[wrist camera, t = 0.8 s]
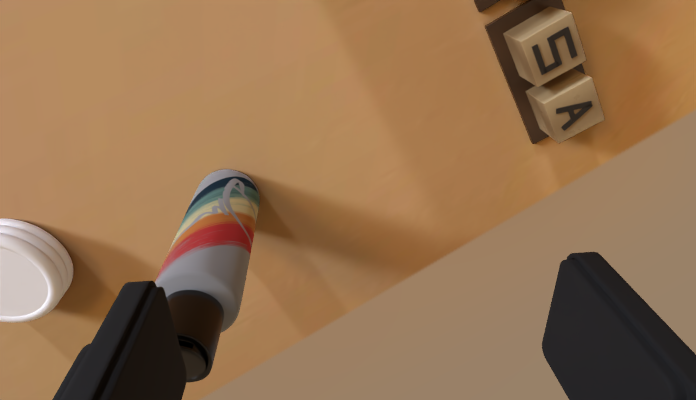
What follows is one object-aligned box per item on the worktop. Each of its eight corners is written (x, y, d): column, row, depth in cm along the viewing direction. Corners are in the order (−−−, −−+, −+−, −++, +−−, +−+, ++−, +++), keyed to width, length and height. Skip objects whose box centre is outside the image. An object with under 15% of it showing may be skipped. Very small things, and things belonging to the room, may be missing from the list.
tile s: (502, 33, 37) (521, 41, 34) (549, 5, 37) (572, 12, 33) (519, 76, 39) (538, 88, 36) (564, 50, 38) (587, 60, 35)
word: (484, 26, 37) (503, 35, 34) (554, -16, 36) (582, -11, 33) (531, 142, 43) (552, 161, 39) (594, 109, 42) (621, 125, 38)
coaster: (6, 196, 41) (-19, 216, 38) (98, 266, 46) (82, 289, 43) (-62, 254, 44) (-90, 278, 41) (31, 315, 48) (13, 341, 45)
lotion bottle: (267, 177, 42) (238, 341, 25) (252, 228, 45) (216, 409, 27) (204, 160, 41) (127, 319, 24) (192, 213, 44) (114, 393, 26)
